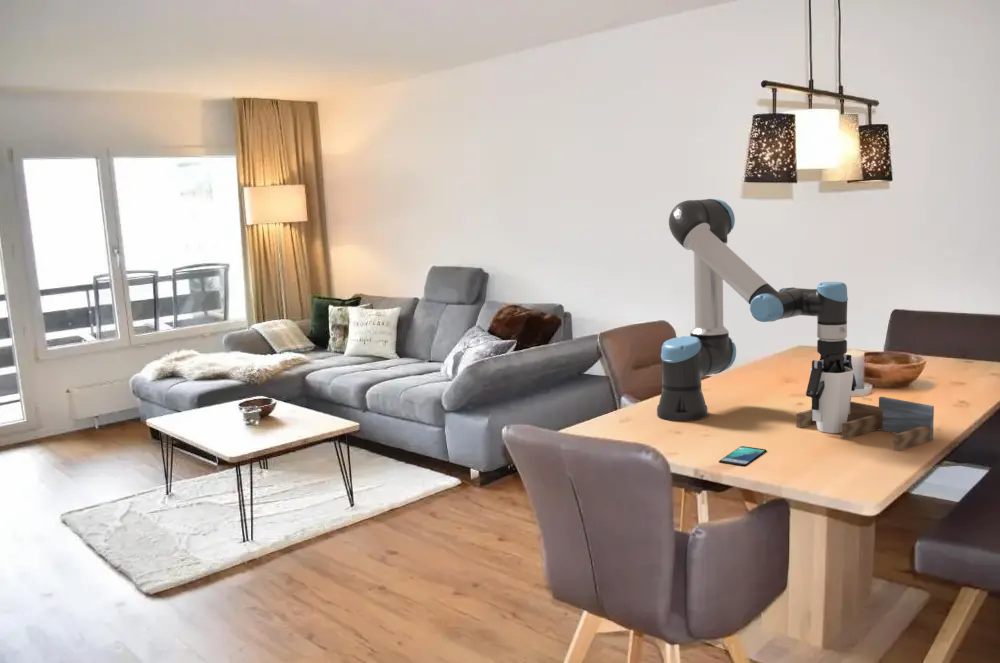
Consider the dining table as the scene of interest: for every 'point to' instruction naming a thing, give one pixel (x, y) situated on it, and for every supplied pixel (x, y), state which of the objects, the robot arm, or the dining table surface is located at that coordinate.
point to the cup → (835, 400)
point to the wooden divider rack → (885, 421)
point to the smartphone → (743, 456)
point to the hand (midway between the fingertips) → (831, 417)
